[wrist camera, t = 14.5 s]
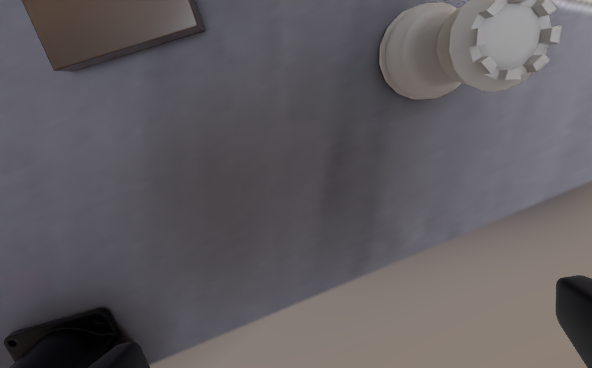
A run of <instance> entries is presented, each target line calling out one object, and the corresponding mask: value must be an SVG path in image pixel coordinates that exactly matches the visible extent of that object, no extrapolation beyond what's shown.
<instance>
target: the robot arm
mask: <svg viewBox="0 0 592 368" xmlns="http://www.w3.org/2000/svg"><path fill="white" fill-rule="evenodd" d="M98 316H101V317H102V318H103V319H101V318H99V317H98ZM556 316H557V319H558V321H559V323H560V325H561V327H562V328H563V330H564V331H565V333H566V335H567V336H568V338H569V339H570V341H571V342H572V344H573V346H574V347H575V349H576V350H577V352H578V353H579V355H580V356H581V358H582V360H583V361H584V363H585V364H586V366H587V367H588V368H592V279H591V278H588V277H585V276H580V275H579V276H571V277H564V278H560V279H559V280H558V281H557V284H556ZM15 341H16V342H15ZM4 344H5V347H6V348H7V350H8V351H9V353H10V355H11V356H12V358H13V359H14V361H15V363H14V364H13V365H12V366H11V367H10V368H150V367H149V365H148V362H147V360H146V358H145V356H144V353H143V351H142V349H141V347H140V345H139V344H138V343H136V342H130V343H126V342H125V340H124V339H123V337H122V335H121V333H120V331H119V329H118V327H117V325H116V323H115V321H114V319H113V317H112V315H111V313H110V312H109V311H108V310H106V309H104V308H99V309H95V310H92V311H88V312H84V313H81V314H77V315H74V316H70V317H66V318H63V319H59V320H56V321H52V322H48V323H45V324H41V325H37V326H34V327H30V328H27V329H23V330H19V331H16V332H13V333H11V334H10V335H9V336H8V337H6V339H5V340H4Z"/></svg>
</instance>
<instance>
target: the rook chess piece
mask: <svg viewBox="0 0 592 368" xmlns="http://www.w3.org/2000/svg"><path fill="white" fill-rule="evenodd" d="M557 9H558V7H557V6H556V5H555V4H554V2H553V1H552V0H469V1H468V2H467V3H466V4H465V5H463V6H461V7H459V8H456V7H454V6H452V5H449V4H447V3H444V2H439V3H424V4H422V5H417V6H415V7H413V8H411V9H409V10H406V11H404V12H402V13H400V15H399V16H398V17H397V18H396V19H395V20H394V21H393V22H392V23H391V24H390V25H389V26H388V27H387V30H386V32H385V34H384V37H383V39H382V42H381V44H380V59H379V65H380V67H381V70H382V73H383V76H384V78H385V81H386V82H387V83H388V84H389V85H390V86H391V87H392V88H393V90H394V91H395V92H396V93H398V94H400V95H402V96H405V97H407V98H410V99H412V100H414V99H434V98H438V97H441V96H443V95H445V94H447V93H449V92H452V91H454V90H455V89H456V88H457V87H458V86H459V85H460V84H461V83H463V84H468V85H470V86H472V87H475V88H477V89H479V90H482V91H484V92H485V91H504V90H507V89H509V88H511V87H513V86H516V85H518V84H520V83H522V82H523V81H524V80H525V79H526V78H528V77H529V76H530V75H531V74H532V73H533V72H538V71H539V70H540V69H541V68H542V67H543V66H544V65H545V64H546V63H547V62H548V61H549V60H550V59H549V58H547V57H546V56H545V53H546V51H547V49H548V45H550V44H557V43H559V40H560V34H561V28H562V25H561V26H556V27H551V23H550V19H549V14H551V13H552V12H554V11H555V10H557Z"/></svg>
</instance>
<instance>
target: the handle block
mask: <svg viewBox="0 0 592 368" xmlns="http://www.w3.org/2000/svg"><path fill="white" fill-rule="evenodd" d="M22 2H23V4H24V6H25V8H26V11H27V13H28V15H29V17H30V19H31V21H32V24H33V26H34V28H35V30H36V32H37V35H38V37H39V39H40V41H41V43H42V46H43V48H44V50H45V52H46V54H47V57H48V59H49V61H50V63H51V65H52V67H53V70H54V71H75V70H79V69H82V68H85V67H88V66H92V65H95V64H98V63H101V62H104V61H108V60H111V59H114V58H117V57H121V56H124V55H127V54H130V53H133V52H137V51H140V50H143V49H146V48H150V47H153V46H156V45H159V44H162V43H166V42H169V41H172V40H175V39H179V38H182V37H185V36H188V35H191V34H195V33H198V32H201V31H204V26H203V23H202V20H201V17H200V14H199V11H198V8H197V5H196V2H195V0H22Z"/></svg>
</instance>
